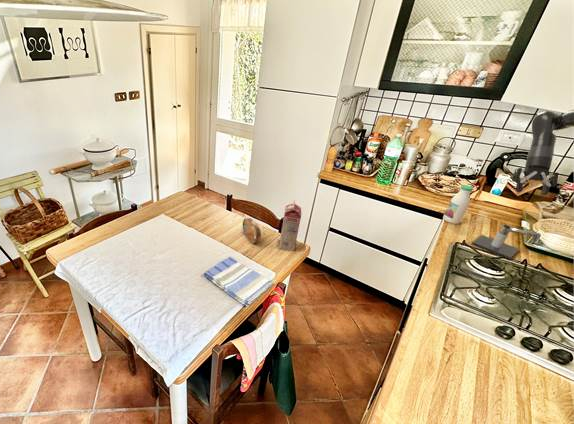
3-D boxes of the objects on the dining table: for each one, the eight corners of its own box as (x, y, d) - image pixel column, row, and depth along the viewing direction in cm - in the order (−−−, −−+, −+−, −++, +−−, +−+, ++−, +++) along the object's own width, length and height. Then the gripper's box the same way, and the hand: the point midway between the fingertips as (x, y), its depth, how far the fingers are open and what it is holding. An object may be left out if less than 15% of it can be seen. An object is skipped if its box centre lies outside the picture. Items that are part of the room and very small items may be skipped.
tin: (241, 229, 153) (242, 215, 149) (247, 229, 154) (248, 214, 150) (254, 246, 140) (256, 231, 136) (260, 245, 141) (262, 230, 137)
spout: (499, 234, 138) (504, 226, 136) (496, 231, 141) (501, 223, 138) (538, 242, 133) (544, 234, 131) (535, 239, 135) (541, 230, 133)
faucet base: (518, 251, 140) (527, 236, 136) (509, 259, 134) (519, 244, 130) (481, 236, 150) (488, 222, 146) (471, 244, 144) (479, 230, 141)
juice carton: (279, 248, 140) (286, 205, 129) (279, 240, 145) (286, 199, 135) (294, 250, 138) (302, 207, 127) (294, 242, 144) (302, 201, 133)
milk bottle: (457, 218, 166) (474, 185, 156) (461, 225, 160) (479, 190, 150) (441, 215, 169) (456, 182, 159) (444, 222, 162) (460, 188, 153)
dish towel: (247, 309, 107) (248, 304, 105) (201, 276, 122) (201, 271, 121) (276, 286, 117) (277, 281, 116) (230, 258, 132) (231, 253, 131)
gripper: (525, 153, 133) (516, 189, 134) (567, 158, 129) (558, 195, 129) (513, 157, 140) (505, 191, 141) (553, 161, 136) (545, 197, 136)
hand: (531, 193), depth 135 cm, fingers open, 8 cm apart
